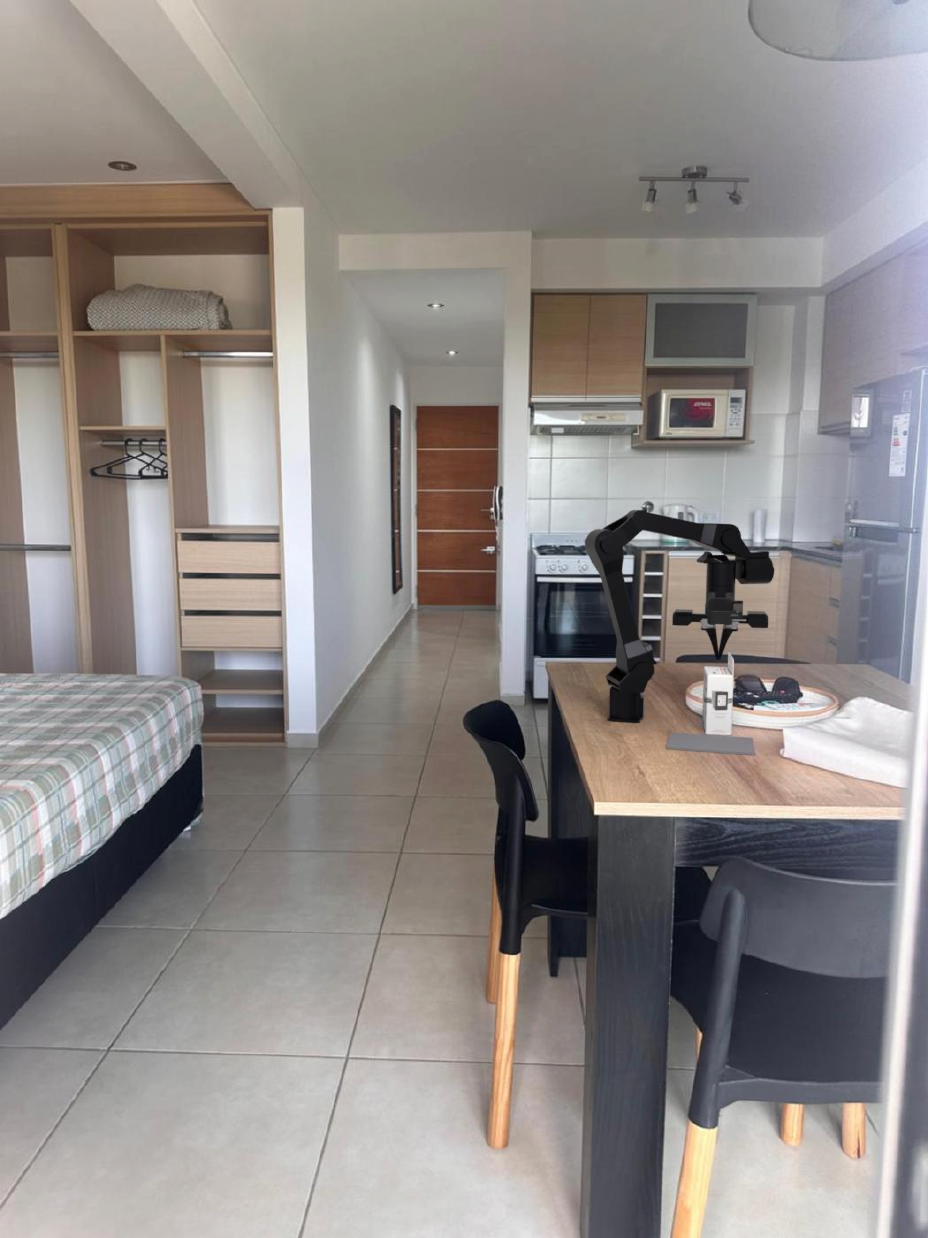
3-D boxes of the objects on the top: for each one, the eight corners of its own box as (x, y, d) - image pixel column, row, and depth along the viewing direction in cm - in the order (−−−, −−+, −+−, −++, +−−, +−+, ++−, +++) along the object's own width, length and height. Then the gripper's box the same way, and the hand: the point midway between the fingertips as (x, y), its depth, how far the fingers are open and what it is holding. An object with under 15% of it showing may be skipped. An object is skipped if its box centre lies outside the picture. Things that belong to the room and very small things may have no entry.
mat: (666, 749, 149) (666, 746, 149) (669, 734, 159) (669, 732, 159) (754, 755, 145) (754, 753, 145) (752, 740, 155) (752, 737, 154)
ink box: (701, 723, 167) (703, 650, 165) (727, 724, 166) (729, 651, 164) (705, 734, 158) (707, 658, 156) (732, 736, 157) (734, 659, 156)
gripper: (671, 587, 166) (670, 664, 168) (771, 589, 160) (768, 669, 162) (674, 582, 176) (672, 655, 178) (768, 584, 171) (765, 659, 173)
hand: (718, 659), depth 173 cm, fingers closed
